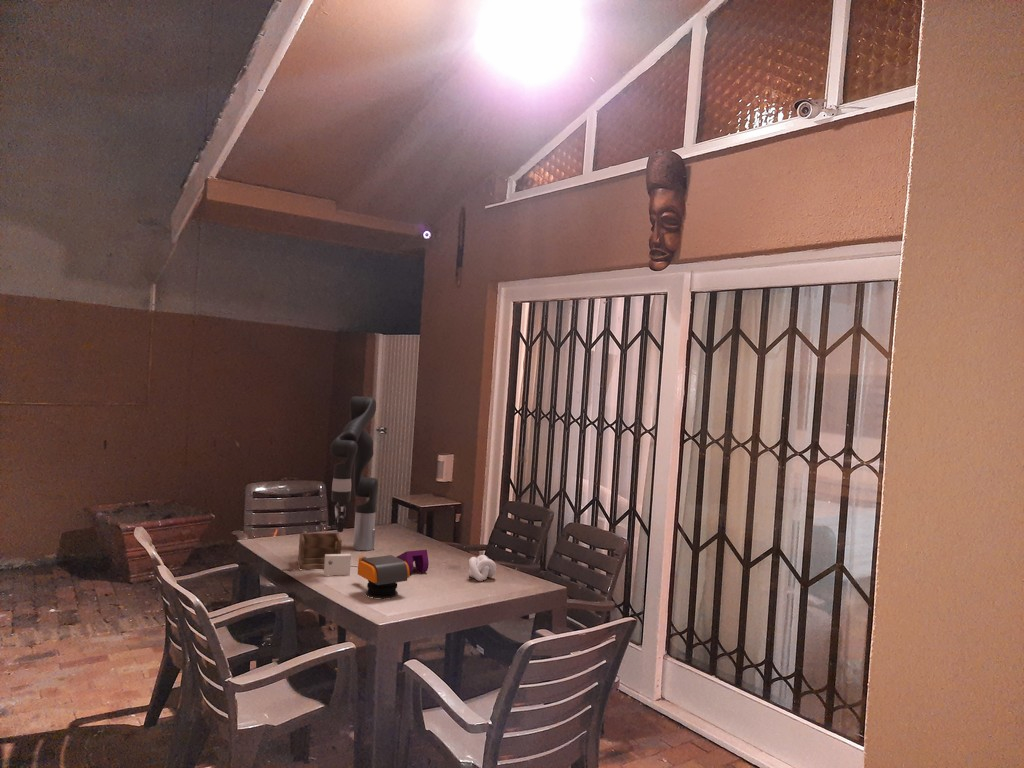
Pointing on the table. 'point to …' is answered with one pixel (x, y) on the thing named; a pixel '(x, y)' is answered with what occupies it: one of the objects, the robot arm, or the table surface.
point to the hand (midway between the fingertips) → (339, 529)
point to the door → (337, 564)
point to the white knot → (481, 567)
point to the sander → (383, 575)
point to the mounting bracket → (416, 560)
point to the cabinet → (317, 549)
